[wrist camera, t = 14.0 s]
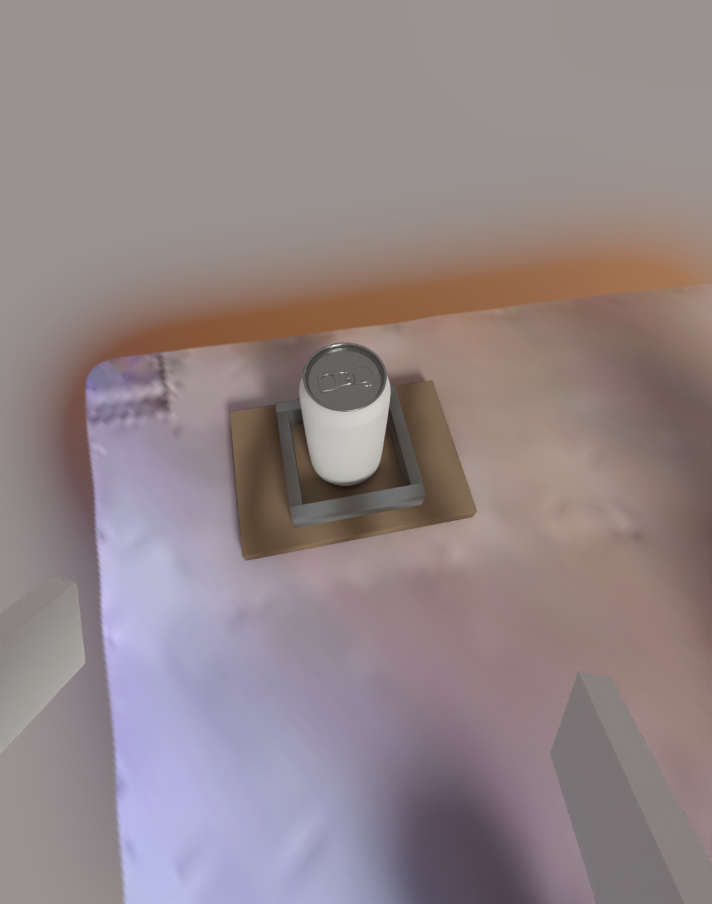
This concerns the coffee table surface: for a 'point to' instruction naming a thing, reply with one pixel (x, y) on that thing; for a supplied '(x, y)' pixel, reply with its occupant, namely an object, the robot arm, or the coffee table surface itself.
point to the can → (345, 412)
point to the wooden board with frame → (344, 507)
